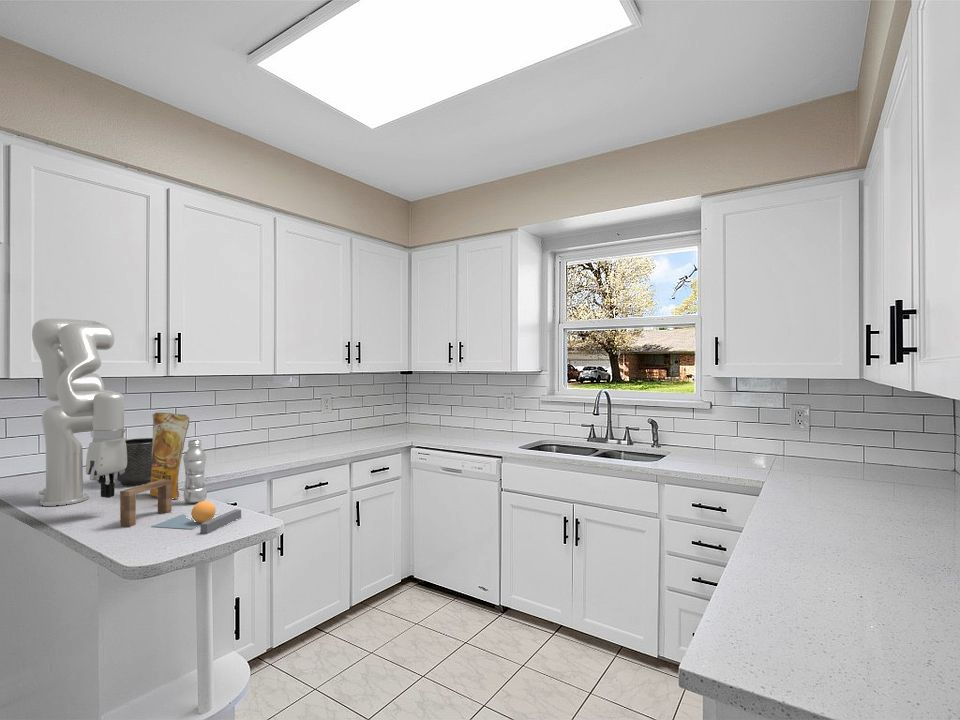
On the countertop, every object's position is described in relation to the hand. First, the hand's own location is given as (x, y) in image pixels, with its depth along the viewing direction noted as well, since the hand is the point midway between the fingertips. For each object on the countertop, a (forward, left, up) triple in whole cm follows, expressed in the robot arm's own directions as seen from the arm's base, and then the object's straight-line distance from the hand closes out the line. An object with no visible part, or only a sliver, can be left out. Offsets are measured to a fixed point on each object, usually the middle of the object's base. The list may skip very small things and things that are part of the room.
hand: (107, 496), depth 156 cm
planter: (-27, +38, -6) cm, 47 cm away
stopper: (+40, -2, -6) cm, 41 cm away
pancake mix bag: (-1, +24, -6) cm, 24 cm away
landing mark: (+28, 0, -6) cm, 29 cm away
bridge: (+14, 0, -6) cm, 15 cm away
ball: (+33, -1, -3) cm, 33 cm away
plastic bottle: (+15, +18, -6) cm, 24 cm away
